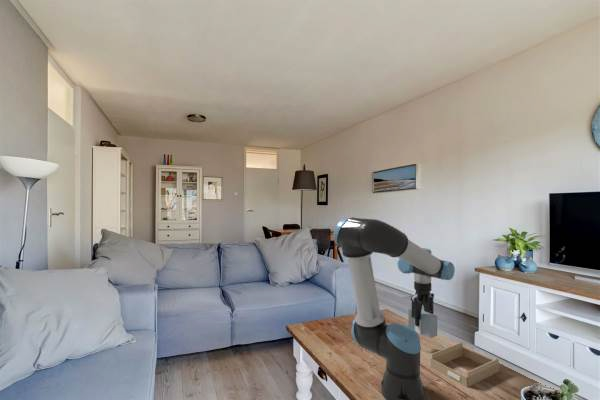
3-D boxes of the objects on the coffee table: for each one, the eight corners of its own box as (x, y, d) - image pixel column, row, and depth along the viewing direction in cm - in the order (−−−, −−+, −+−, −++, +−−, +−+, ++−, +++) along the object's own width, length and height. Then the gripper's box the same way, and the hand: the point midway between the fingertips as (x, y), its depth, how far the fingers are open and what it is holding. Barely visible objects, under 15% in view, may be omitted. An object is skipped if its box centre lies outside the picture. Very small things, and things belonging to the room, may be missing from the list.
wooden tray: (466, 388, 113) (466, 372, 113) (430, 368, 127) (430, 354, 127) (499, 372, 124) (499, 358, 124) (462, 355, 138) (462, 342, 138)
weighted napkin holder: (429, 338, 134) (430, 318, 134) (408, 328, 145) (408, 309, 145) (437, 335, 137) (437, 316, 137) (415, 326, 147) (415, 307, 147)
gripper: (416, 286, 133) (415, 338, 133) (442, 281, 142) (442, 330, 142) (402, 282, 140) (402, 332, 140) (428, 277, 148) (428, 324, 149)
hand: (422, 331), depth 141 cm, fingers closed on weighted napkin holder, 5 cm apart
